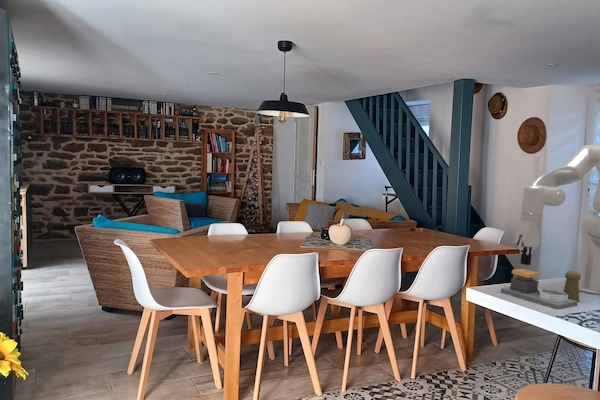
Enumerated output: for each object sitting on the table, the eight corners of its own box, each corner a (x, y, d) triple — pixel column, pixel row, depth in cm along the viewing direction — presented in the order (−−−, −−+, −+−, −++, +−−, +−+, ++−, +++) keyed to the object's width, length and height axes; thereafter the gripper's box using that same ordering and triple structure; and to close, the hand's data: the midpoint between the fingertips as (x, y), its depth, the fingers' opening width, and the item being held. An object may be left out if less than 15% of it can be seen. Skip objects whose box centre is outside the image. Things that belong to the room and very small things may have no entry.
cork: (581, 302, 188) (584, 274, 187) (564, 300, 189) (567, 272, 188) (576, 298, 194) (579, 270, 193) (559, 296, 195) (562, 269, 194)
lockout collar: (546, 294, 192) (547, 287, 192) (571, 300, 184) (572, 294, 184) (532, 296, 187) (533, 290, 187) (557, 303, 179) (557, 296, 179)
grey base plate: (520, 289, 203) (521, 274, 203) (576, 305, 184) (578, 289, 184) (500, 292, 196) (502, 277, 196) (557, 309, 177) (559, 292, 177)
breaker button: (521, 279, 200) (522, 268, 199) (538, 283, 194) (539, 272, 193) (511, 281, 196) (512, 270, 195) (527, 285, 190) (528, 274, 190)
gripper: (533, 216, 200) (527, 261, 201) (510, 216, 192) (505, 263, 193) (551, 219, 193) (545, 265, 195) (528, 218, 185) (522, 267, 187)
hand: (525, 264), depth 194 cm, fingers closed
